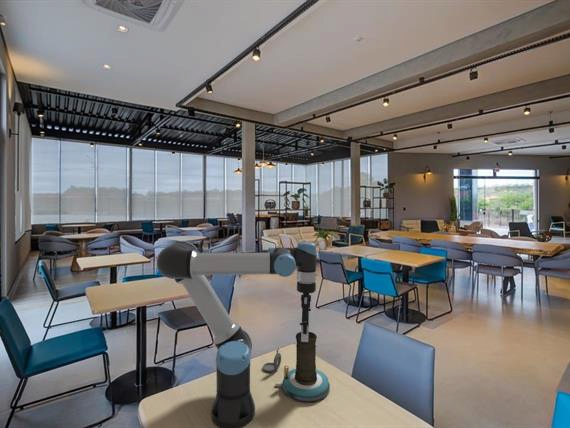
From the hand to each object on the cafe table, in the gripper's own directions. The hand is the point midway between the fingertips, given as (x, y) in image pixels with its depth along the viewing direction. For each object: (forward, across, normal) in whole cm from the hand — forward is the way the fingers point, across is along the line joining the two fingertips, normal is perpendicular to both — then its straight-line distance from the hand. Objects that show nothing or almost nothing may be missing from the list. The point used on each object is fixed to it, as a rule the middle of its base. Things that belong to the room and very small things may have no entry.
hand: (305, 334), depth 123 cm
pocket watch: (+22, +12, +14) cm, 29 cm away
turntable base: (+22, 0, +1) cm, 22 cm away
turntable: (+20, 0, -1) cm, 20 cm away
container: (+19, 0, -1) cm, 19 cm away
